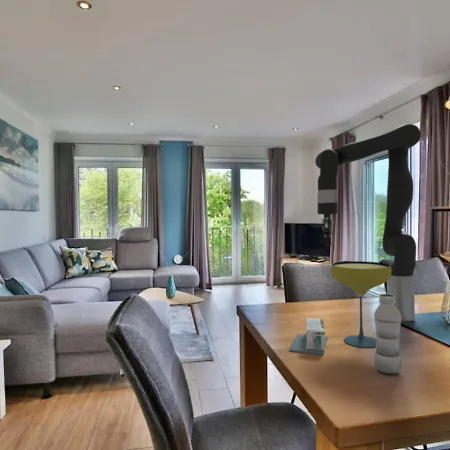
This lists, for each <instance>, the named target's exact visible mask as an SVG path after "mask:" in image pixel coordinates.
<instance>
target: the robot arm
mask: <svg viewBox="0 0 450 450" xmlns="http://www.w3.org/2000/svg"><path fill="white" fill-rule="evenodd" d="M421 136H422V133H421V130H420V128H419V127H418V126H417V125H415V124H413V123H404V124H401V125H400V126H398V127H395V128H394V129H393V130H391V131H388V132H386V133H383V134H380V135H376V136H374V137H370V138H365V139H362V140H361V139H360V140H358V141H354V142H350V143H346V144H344V145H342V146H340V147H338V148H334V149H332V148H326V149H325V150H322V151H321V152H320V153H318V154H317V156H316V158H315V159H314V160H315V166H316V167H317V168H318V169H320V170H319V175H318V179H317V194H316V196H317V200H316V201H317V205H316V206H317V215H323V218H322V219H321V223H322V231H323V236H324V247H327V248H328V247H331V246H332V236H333V229H334V228H333V226H334V218H332V215H337V214H338V213H339V212H338V204H339V203H338V192H337V191H338V190H337V175H338V170H339V166H341V165H343V164H348V163H353V162H357V161H360V160H363V159H365V158H369V157H371V156H375V155H376V154H379V153H382V152H385V151H387V154H388V155H387V157H388V171H387V186H386V187H387V188H386V210H385V223H384V230H383V236H382V250H383V252H384V253H385V254H386V255H388V256H390V257H393V263H392V264H390V266H391V277H390V279H389V280H388V281H386V294H391V295H394V296H395V304H394V305H395V306H396V308H397V309H398V310H399V312H400V314H401V322H415V321H416V316H415V313H416V311H415V310H416V309H415V305H416V304H415V303H416V302H415V295H414V270H415V268H416V261H417V260H416V259H417V243H416V241H415V239H414V237H413V236H412V235H410V234H407V233H403V222H404V219H405V218H406V217H405V216H406V214H407V213H408V211H409V209H410V207H411V205H412V204H413V203H412V202H413V198H414V180H413V177H412V173H411V171H410V168H409V166H408V155H409V154H408V153H409V150H410V149H411V148H412V147H414V146H415V145H417V144H418V143H419V142H420V140H421Z"/></svg>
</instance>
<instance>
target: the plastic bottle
mask: <svg viewBox="0 0 450 450" xmlns="http://www.w3.org/2000/svg"><path fill="white" fill-rule="evenodd" d="M378 296H379V298H378V302H379V304H378V306H377V308H376V309H375V311H374V312H373V313H374V314H373V319H374V324H375V325H374V326H375V334H376V338H375V339H377V341H376V347H375V352H374V357H373V362H374V367H375V368H376V370H377V371H379V372H381V373H383V374H387V375H388V374H390V375H394V374H398V373H400V371H401V370H402V366H403V362H402V356H401V351H400V350H401V349H400V330H401V323H402V321H401V314H400V312H399V310H398V309H397V308H396V306H395V305H394V304H395V296H394V295H391V294H387V293H381V294H379V295H378Z"/></svg>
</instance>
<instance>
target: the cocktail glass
mask: <svg viewBox="0 0 450 450" xmlns="http://www.w3.org/2000/svg"><path fill="white" fill-rule="evenodd" d="M330 273H331V276H332V278H334V279H335V281H337V282H339V283H340V284H342V285H345V286H347V287H348V288H349V289H352V290H353V291H354V293H355V294H356V295H357V296H358V297H359V334H358V335H357V334H354V335H353V334H352V335H348V336H345V337H344V338H343V341H344V343H345V344H347V345H349V346H351V345H352V346H353V347H356V348H363V349H370V348H373V349H374V348H376V341H377V339H376V338H374V337H372V336H368V335H364V334H365V333H364V330H363V328H364V327H363V298H362V297H364V296H365V295H366V294H367V293H368V292H369V291H370V290H371V289H374V288H376V287H379V286H381V285H383V284H385V283H387V281H388V280H389V279H390V277H391V264H388V263H383V262H375V261H365V260H364V261H357V260H352V261H350V260H349V261H337V262H333V263H332V264H331V266H330ZM352 346H351V347H352Z"/></svg>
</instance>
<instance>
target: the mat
mask: <svg viewBox="0 0 450 450" xmlns="http://www.w3.org/2000/svg"><path fill="white" fill-rule="evenodd" d="M327 341H328V336H326V335H325V347H326V345H327ZM288 351H289V352H295V353H300V354H301V353H303V354H309V355H310V354H312V355H318V356H319V355H320V356H324V353H325V350H317V349H306V333H305V334H302V333H297V334H296V335H295V338H293V341H292V343H291V345H290V347H289V349H288Z"/></svg>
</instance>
